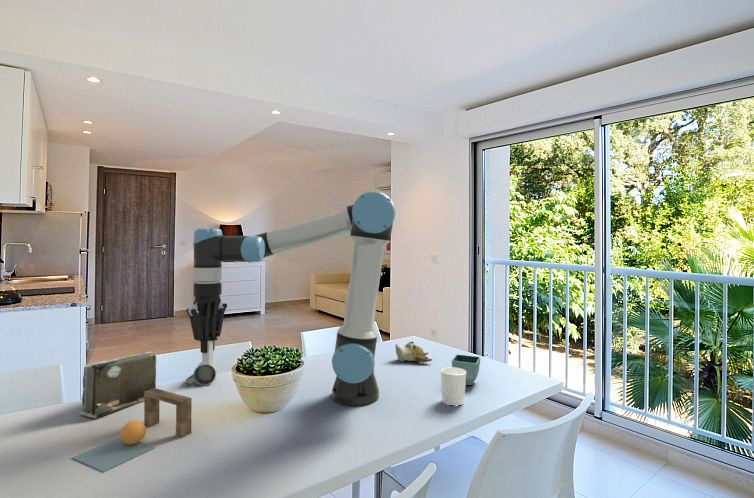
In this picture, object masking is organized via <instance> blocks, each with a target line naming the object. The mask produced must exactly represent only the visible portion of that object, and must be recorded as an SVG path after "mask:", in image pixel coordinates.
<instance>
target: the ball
mask: <svg viewBox="0 0 754 498" xmlns="http://www.w3.org/2000/svg"><path fill="white" fill-rule="evenodd" d="M146 427H147V426H145V425H144V422H142V421H141V420H130V421H129V422H127V423H126V424H124V426H122V428H121V430H120V432H119V437H120V438H121V440H122V442H123V443H125V444H127V445H134V444H137V443H139V442H142V440H143V439H144V438H145V437H146V436H145V435H146V433H147V428H146Z"/></svg>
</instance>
